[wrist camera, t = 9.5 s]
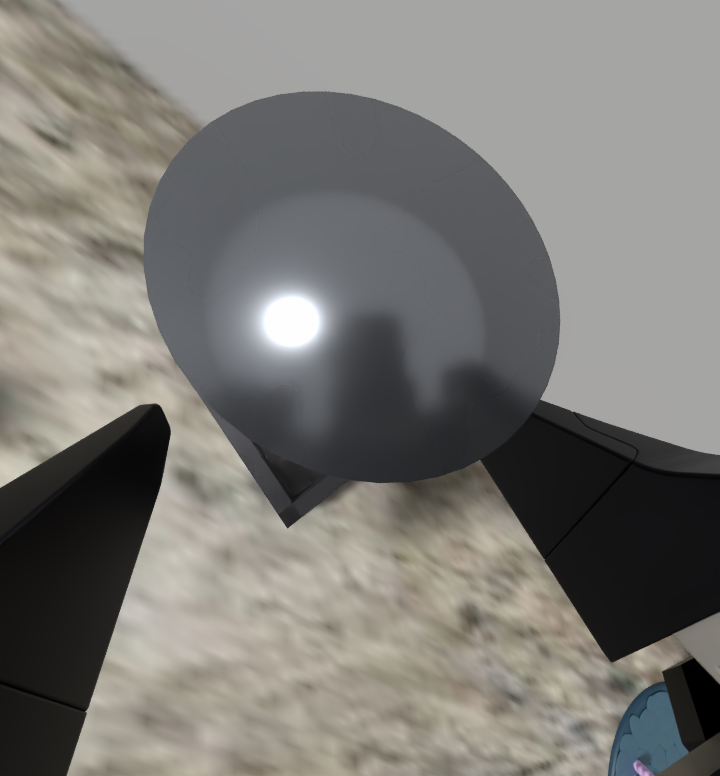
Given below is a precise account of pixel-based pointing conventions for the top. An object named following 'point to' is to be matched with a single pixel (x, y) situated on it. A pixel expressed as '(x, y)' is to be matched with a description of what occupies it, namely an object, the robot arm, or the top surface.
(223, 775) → the top surface
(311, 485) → the collar block
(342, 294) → the tube
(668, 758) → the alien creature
